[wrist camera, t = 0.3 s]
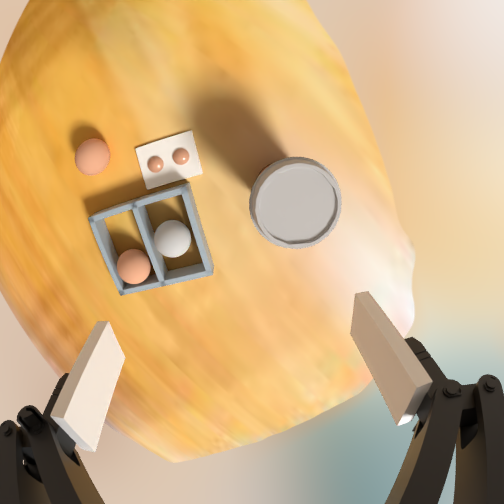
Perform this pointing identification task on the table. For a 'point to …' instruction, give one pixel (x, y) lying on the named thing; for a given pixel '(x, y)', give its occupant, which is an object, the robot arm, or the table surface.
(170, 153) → the tile
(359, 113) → the table surface
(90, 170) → the terracotta ball
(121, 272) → the terracotta ball
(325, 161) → the table surface
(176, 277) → the rack
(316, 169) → the disposable coffee cup
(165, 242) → the ball grey
